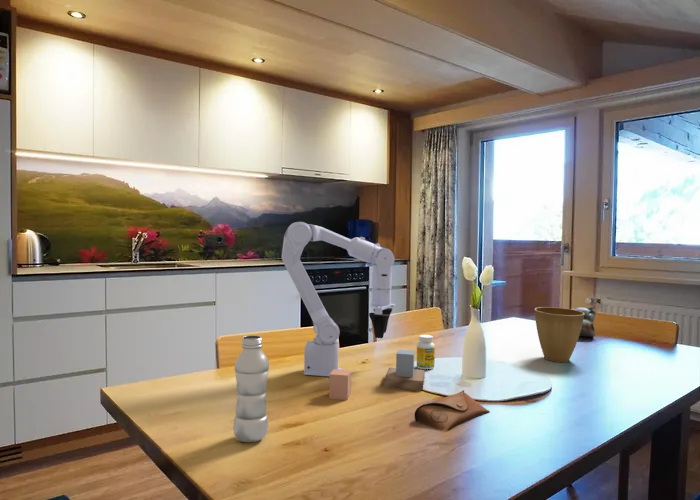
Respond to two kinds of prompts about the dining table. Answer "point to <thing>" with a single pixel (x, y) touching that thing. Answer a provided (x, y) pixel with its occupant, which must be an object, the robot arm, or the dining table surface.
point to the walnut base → (404, 380)
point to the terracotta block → (340, 384)
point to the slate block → (405, 363)
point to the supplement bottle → (425, 352)
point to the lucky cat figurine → (587, 322)
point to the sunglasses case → (449, 411)
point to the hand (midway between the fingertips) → (380, 335)
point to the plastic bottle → (251, 391)
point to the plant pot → (558, 331)
